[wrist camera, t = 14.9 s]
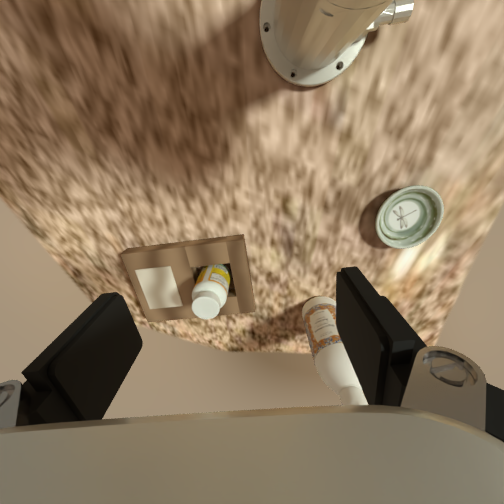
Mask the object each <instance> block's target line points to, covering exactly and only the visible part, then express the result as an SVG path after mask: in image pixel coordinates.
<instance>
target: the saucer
mask: <svg viewBox="0 0 504 504" xmlns="http://www.w3.org/2000/svg"><path fill="white" fill-rule="evenodd" d="M443 213H444V206H443V201H442V199H441V197H440V195H439V194H438V193H437V192H436V191H435V190H433V189H431V188H429V187H426V186H420V185H416V186H409V187H405V188H403V189H400V190H398V191H396V192H395V193H393V194H392V195H391V196H390V197H388V198H387V199H386V200H385V201H384V203H383V204H382V205H381V207H380V209H379V210H378V213H377V216H376V220H375V229H376V233H377V235H378V237H379V238H380V240H381V241H382V242H383V243H385V244H386V245H388V246H390V247H393V248H398V249H405V248H411V247H414V246H417V245H419V244H421V243H422V242H424V241H426V240H427V239H428V238H429V237H430V236H432V235H433V233H434V232H435V231H436V230H437V228H438V227H439V225H440V223H441V221H442V218H443Z"/></svg>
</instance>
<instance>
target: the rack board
mask: <svg viewBox="0 0 504 504" xmlns="http://www.w3.org/2000/svg"><path fill="white" fill-rule="evenodd" d="M121 258H122V260H123V263H124V265H125V267H126V270H127V272H128V275H129V277H130V280H131V282H132V285H133V287H134V290H135V292H136V295H137V297H138V299H139V302H140V304H141V307H142V309H143V312H144V314H145V317H146V319H147V322H156V321H167V320H177V319H187V318H198V316H196V315H195V314H194V312H193V311H192V303H193V300H192V291H193V288H194V286H195V284H196V282H197V279H198V273H197V270H196V267H199V266H208V265H217V264H226V263H230V266H231V271H232V276H233V281H234V286H235V289H228V295H227V300H226V302H225V304H224V305H223V307H222V308H220V311H219V313H218V315H217V316H219V315H229V314H239V313H250V312H255V301H254V295H253V288H252V282H251V276H250V270H249V264H248V257H247V251H246V245H245V239H244V234H242V235H234V236H226V237H217V238H209V239H201V240H193V241H185V242H176V243H168V244H160V245H152V246H143V247H135V248H128V249H127V250H125V251H124V252H123V253H122V254H121Z"/></svg>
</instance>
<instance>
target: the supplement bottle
mask: <svg viewBox="0 0 504 504" xmlns="http://www.w3.org/2000/svg"><path fill="white" fill-rule="evenodd" d="M230 279H231V273H230V270H229V269H228V267H227V266H226V265H224V264H217V265H208V266H204V267H203V268H202V270H201V273H200V275H199V277H198V279H197V282H196V284H195V286H194V288H193V291H192V300H193V303H192V311H193V312H194V314H195V315H196V316H198V317H199V318H202V319H212V318H214V317H215V316H217V315H218V313H219V311H220V308H222V307H223V305H224V304H225V302H226V300H227V295H228V289H229V284H230Z"/></svg>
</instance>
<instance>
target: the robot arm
mask: <svg viewBox="0 0 504 504" xmlns="http://www.w3.org/2000/svg"><path fill="white" fill-rule="evenodd" d="M413 4H414V1H413V0H262V1H261V7H260V18H259V25H260V37H261V42H262V46H263V49H264V52H265V55H266V57H267V59H268V61H269V63H270V64H271V66H272V68H273V69H274V70H275V71H276V72H277V73H278V74H279V76H281V77H282V78H283V79H285V80H286V81H288V82H290V83H292V84H294V85H297V86H303V87H314V86H319V85H322V84H325V83H327V82H329V81H331V80H333V79H335V78H336V77H337V76H339V75H340V74H341V73H342V72H344V71H345V70H346V69H347V68H348V67H349V66H350V65H351V63H352V62H353V61H354V59H355V58H356V57H357V55H358V54H359V52H360V50H361V48H362V46H363V45H364V42H365V39H366V37H367V34H368V32H371V31H375V30H377V28H378V27H379V25H384V24H388V25H392V24H398V23H403V22H406V21H408V19H409V18H410V16H411V13H412V10H413ZM265 28H268V30H269V31H268V32H265V31H264V30H265ZM337 65H338V66H339V70H337V69H336V66H337ZM291 73H294V75H295V76H294V77H291ZM336 327H337V331H338V333H339V336H340V338H341V340H342V343H343V345H344V348H345V350H346V352H347V355H348V357H349V359H350V362H351V364H352V366H353V369H354V371H355V374H356V376H357V378H358V381H359V383H360V385H361V388H362V390H363V392H364V395H365V397H366V399H367V402H368V404H369V405H340V406H339V405H337V406H312V407H291V408H274V409H258V410H241V411H224V412H209V413H192V414H177V415H161V416H147V417H131V418H118V419H103V420H102V418H103V416H104V414H105V412H106V411H107V409H108V407H109V406H110V404H111V402H112V400H113V398H114V397H115V395H116V393H117V391H118V389H119V388H120V386H121V384H122V382H123V381H124V379H125V377H126V375H127V373H128V372H129V370H130V368H131V366H132V364H133V363H134V361H135V359H136V357H137V356H138V354H139V352H140V350H141V348H142V339H141V336H140V334H139V332H138V330H137V327H136V325H135V323H134V320H133V318H132V316H131V313H130V311H129V309H128V307H127V304H126V302H125V300H124V298H123V296H122V295H120V294H119V293H117V292H113V293H104V294H101V295H100V296H99V297H98V298H97V299H96V300H95V301H94V302H93V303H92V304H91V305H90V306H89V307H88V308H87V309H86V310H85V311H84V312H83V313H82V314H81V315H80V316H79V317H78V318H77V319H76V320H75V321H74V322H73V323H71V325H69V326H68V327H67V328H66V329H65V330H64V331H63V332H62V333H61V334H60V335H59V336H58V337H57V338H56V339H55V340H54V341H53V342H52V343H51V344H50V345H49V346H48V347H47V348H46V349H45V350H44V351H43V352H42V353H41V354H40V355H39V356H38V357H37V358H36V359H35V360H34V361H33V362H32V363H31V364H30V365H29V366H28V367H27V368H26V369H24V370H23V371H22V374H23V375H24V377H25V378H26V379H27V381H26V382H25V383H24V384H23V385H22V383H21V382H20V381H18V380H10V381H6V382H3V383H0V504H504V390H501V389H499V388H497V387H495V386H493V385H490V384H488V383H486V378H485V374H484V373H483V372H482V370H481V369H480V367H479V366H478V365H477V364H476V363H475V362H473V361H472V360H471V359H470V358H468V357H466V356H465V355H463V354H461V353H459V352H457V351H454V350H452V349H449V348H445V347H439V346H429V347H427V346H426V344H425V343H424V342H423V341H422V340H421V338H420V337H419V336H418V335H417V334H416V332H415V331H414V330H413V329H412V328H411V326H410V325H409V324H408V323H407V322H406V320H405V319H404V318H403V317H402V315H401V314H400V313H399V312H398V311H397V309H396V308H395V307H394V306H393V305H392V303H391V302H390V301H389V300H388V299H387V298H386V297H385V296H380V295H379V294H378V293H377V291H376V290H375V289H374V288H373V286H372V285H371V284H370V283H369V281H368V280H367V279H366V278H365V276H364V275H363V274H362V272H361V271H360V270H359V269H358V268H357V267H346V268H342V269H341V272H337V276H336Z"/></svg>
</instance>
